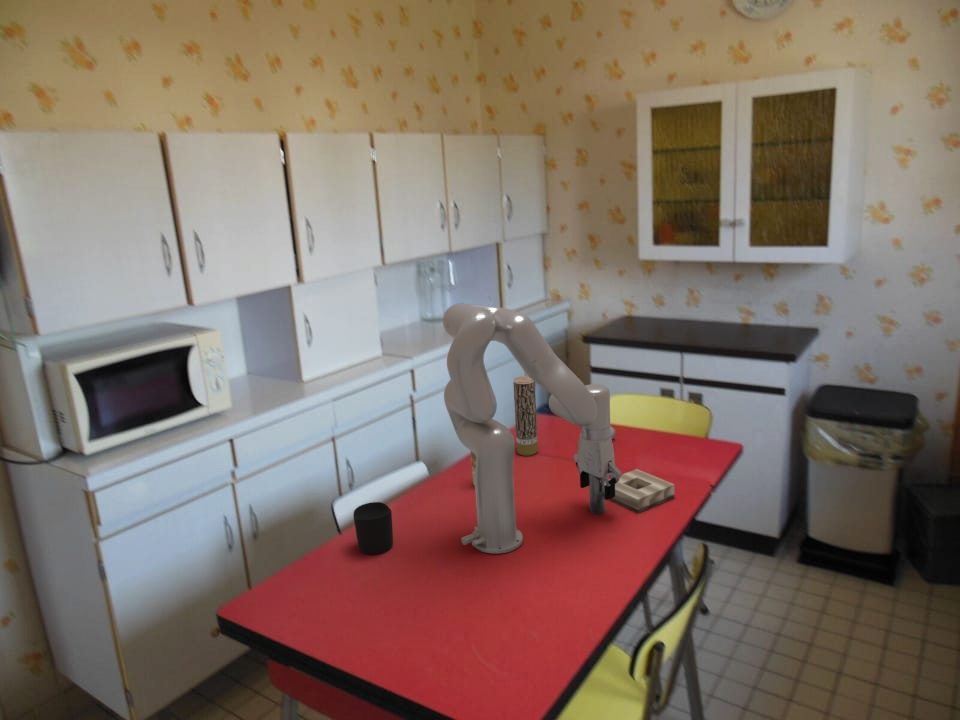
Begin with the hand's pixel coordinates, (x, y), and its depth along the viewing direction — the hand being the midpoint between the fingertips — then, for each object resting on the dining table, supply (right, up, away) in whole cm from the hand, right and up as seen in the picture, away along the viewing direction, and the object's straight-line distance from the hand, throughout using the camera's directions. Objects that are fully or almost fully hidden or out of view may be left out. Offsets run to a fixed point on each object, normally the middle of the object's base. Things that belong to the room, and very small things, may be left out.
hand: (597, 492), depth 192 cm
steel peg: (0, -5, +1) cm, 5 cm away
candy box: (-29, -2, +23) cm, 37 cm away
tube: (+6, +5, +40) cm, 41 cm away
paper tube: (-16, +5, +44) cm, 47 cm away
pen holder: (-58, -12, -10) cm, 60 cm away
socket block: (+12, -3, +8) cm, 15 cm away
